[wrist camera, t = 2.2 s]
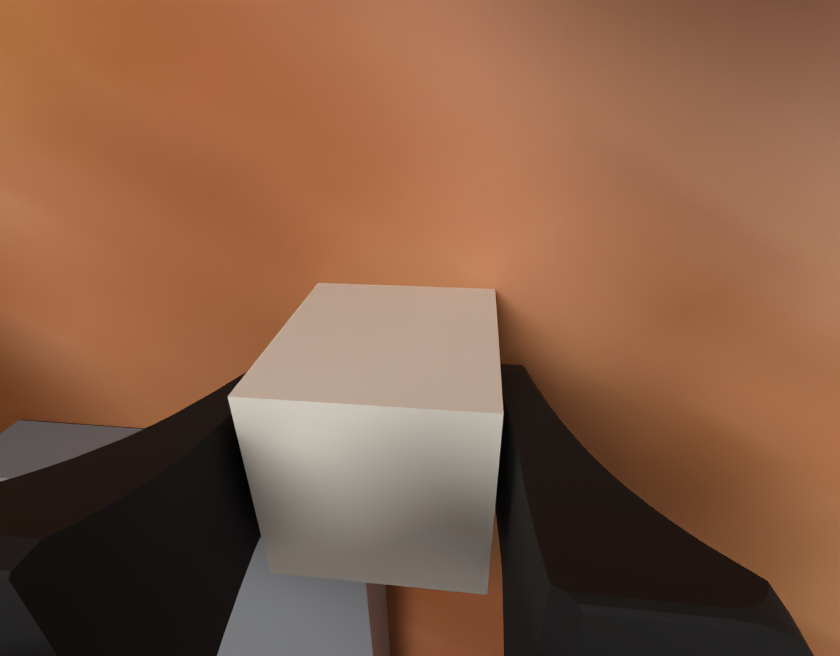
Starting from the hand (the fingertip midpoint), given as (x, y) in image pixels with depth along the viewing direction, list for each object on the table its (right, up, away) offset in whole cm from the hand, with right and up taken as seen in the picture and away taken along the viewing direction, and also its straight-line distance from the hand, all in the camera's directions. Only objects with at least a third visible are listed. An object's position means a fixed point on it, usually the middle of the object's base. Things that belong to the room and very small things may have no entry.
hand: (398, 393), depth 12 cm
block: (0, +1, +1) cm, 2 cm away
